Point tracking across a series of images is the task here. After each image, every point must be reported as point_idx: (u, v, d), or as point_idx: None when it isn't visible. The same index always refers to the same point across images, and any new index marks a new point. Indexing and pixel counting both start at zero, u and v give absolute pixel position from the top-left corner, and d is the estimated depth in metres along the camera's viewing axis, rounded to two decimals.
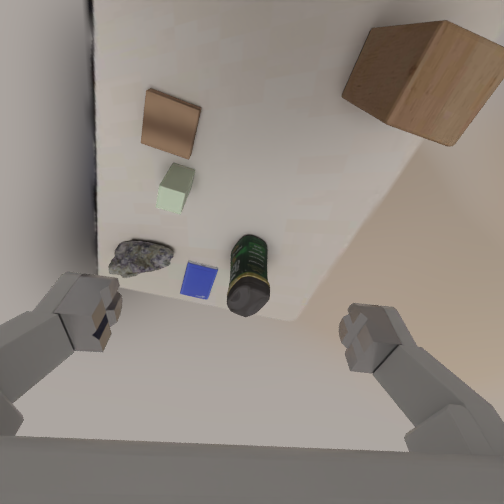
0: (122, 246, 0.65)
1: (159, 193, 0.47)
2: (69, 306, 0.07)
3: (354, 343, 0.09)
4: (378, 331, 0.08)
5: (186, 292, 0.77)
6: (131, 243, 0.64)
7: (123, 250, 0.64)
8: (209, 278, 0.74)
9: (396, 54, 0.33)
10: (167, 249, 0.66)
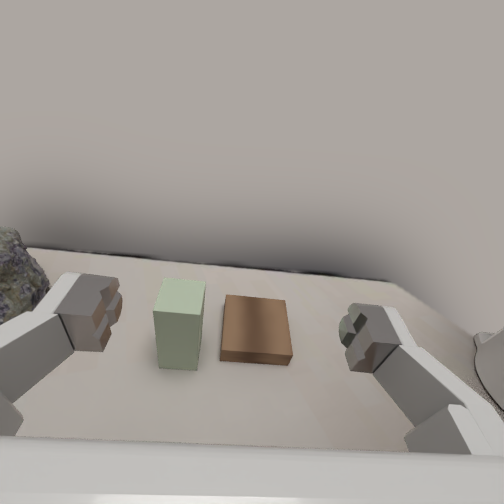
0: (41, 268, 0.38)
1: (191, 282, 0.29)
2: (69, 306, 0.07)
3: (354, 343, 0.09)
4: (378, 331, 0.08)
5: None
6: (46, 279, 0.37)
7: (34, 265, 0.37)
8: None
9: None
10: None
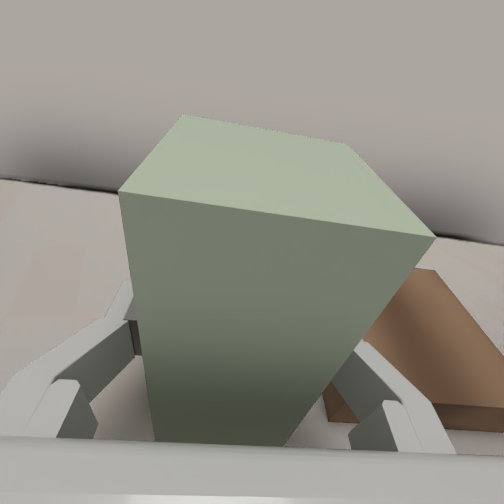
0: None
1: (295, 138, 0.07)
2: None
3: None
4: None
5: None
6: None
7: None
8: None
9: None
10: None
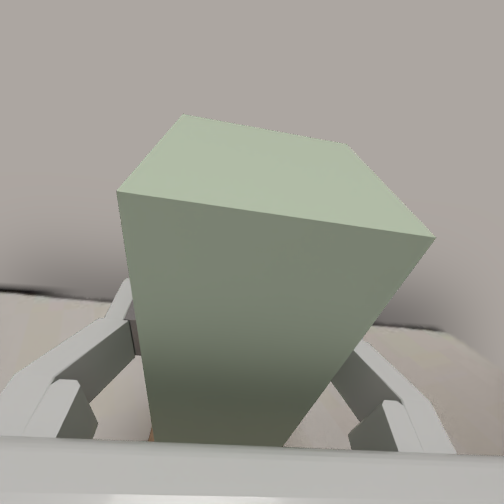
0: None
1: (295, 138, 0.07)
2: None
3: None
4: None
5: None
6: None
7: None
8: None
9: None
10: None
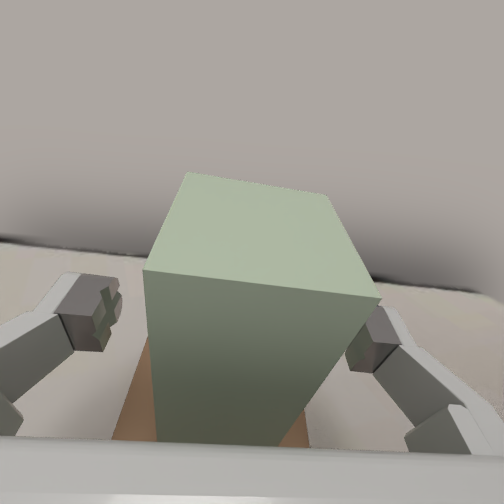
0: None
1: (282, 191, 0.08)
2: (69, 306, 0.07)
3: (354, 343, 0.09)
4: (378, 331, 0.08)
5: None
6: None
7: None
8: None
9: None
10: None
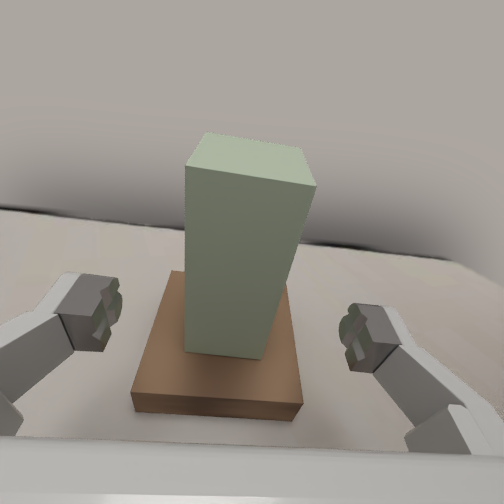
0: None
1: (269, 144, 0.12)
2: (69, 306, 0.07)
3: (354, 343, 0.09)
4: (378, 331, 0.08)
5: None
6: None
7: None
8: None
9: None
10: None
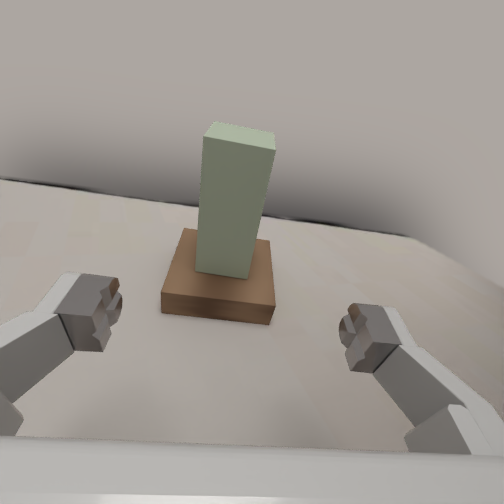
0: None
1: (254, 130, 0.20)
2: (69, 306, 0.07)
3: (354, 343, 0.09)
4: (378, 331, 0.08)
5: None
6: None
7: None
8: None
9: None
10: None
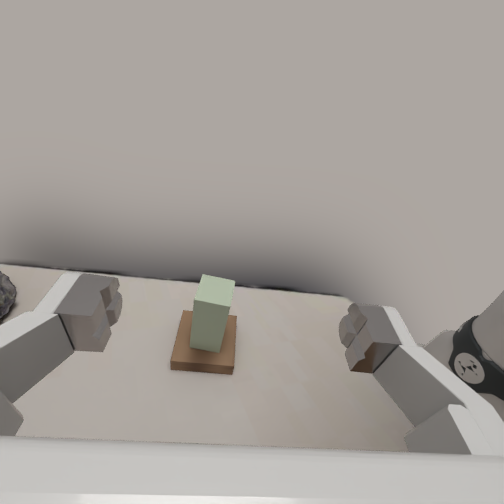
0: (11, 286, 0.43)
1: (224, 280, 0.36)
2: (69, 306, 0.07)
3: (354, 343, 0.09)
4: (378, 331, 0.08)
5: None
6: (11, 297, 0.41)
7: (3, 283, 0.42)
8: None
9: None
10: None
